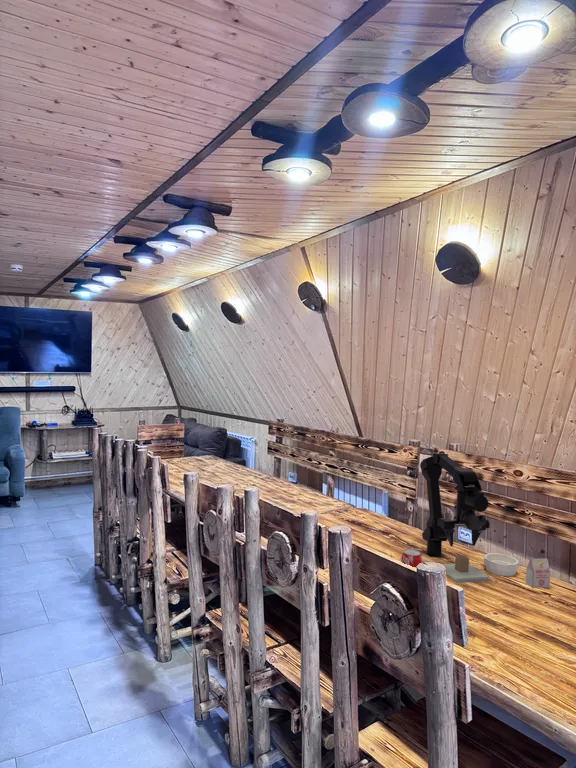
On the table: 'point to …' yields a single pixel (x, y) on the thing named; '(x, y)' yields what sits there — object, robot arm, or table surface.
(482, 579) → the mat
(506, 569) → the bowl
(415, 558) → the soda can
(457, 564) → the lid
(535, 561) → the white gabled carton
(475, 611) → the table surface
